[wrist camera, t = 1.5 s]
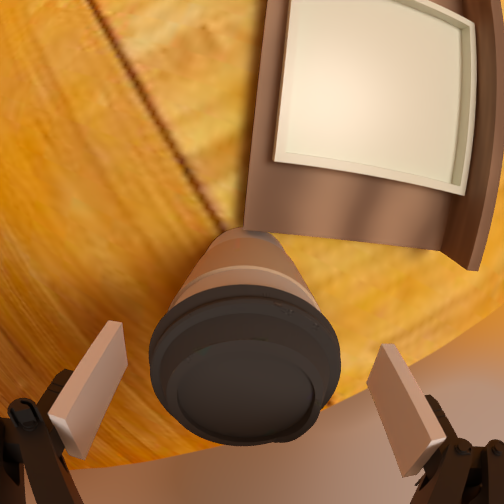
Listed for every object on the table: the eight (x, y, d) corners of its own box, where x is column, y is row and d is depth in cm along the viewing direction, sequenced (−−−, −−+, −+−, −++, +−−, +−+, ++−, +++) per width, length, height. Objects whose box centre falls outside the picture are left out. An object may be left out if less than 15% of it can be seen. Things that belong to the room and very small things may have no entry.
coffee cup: (170, 281, 26) (108, 416, 12) (228, 190, 24) (200, 268, 10) (259, 332, 28) (269, 479, 14) (322, 252, 26) (396, 377, 11)
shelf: (243, 219, 24) (242, 249, 18) (273, -54, 16) (281, -101, 10) (433, 240, 25) (477, 271, 19) (453, -1, 17) (495, -22, 11)
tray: (272, 159, 20) (274, 161, 18) (291, -27, 15) (294, -39, 14) (451, 191, 21) (464, 195, 19) (462, 27, 16) (474, 23, 14)
